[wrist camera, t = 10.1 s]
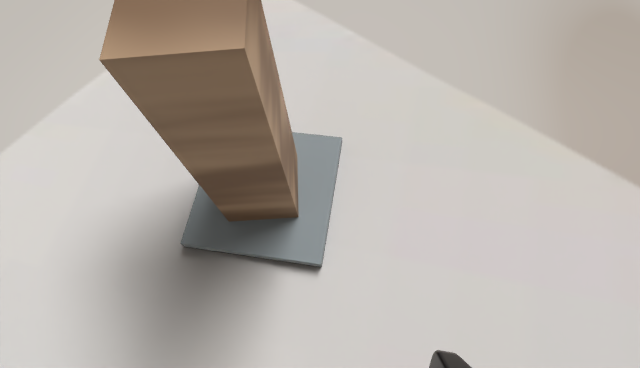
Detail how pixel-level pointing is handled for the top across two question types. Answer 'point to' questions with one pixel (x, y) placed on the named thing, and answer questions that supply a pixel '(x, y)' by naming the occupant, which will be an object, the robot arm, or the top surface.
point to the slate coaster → (284, 233)
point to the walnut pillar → (210, 97)
